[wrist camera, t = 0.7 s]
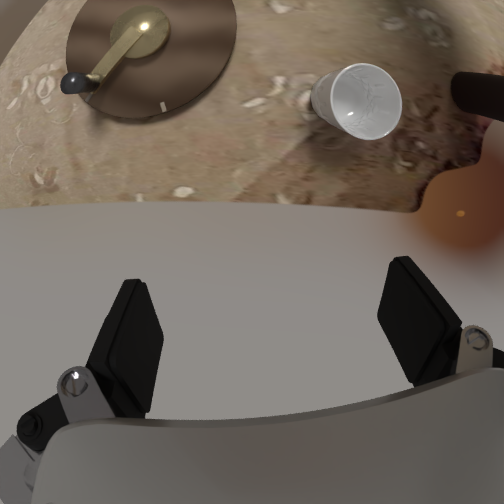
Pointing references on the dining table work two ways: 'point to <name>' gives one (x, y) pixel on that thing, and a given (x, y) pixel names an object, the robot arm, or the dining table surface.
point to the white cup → (358, 101)
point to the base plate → (154, 55)
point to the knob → (123, 47)
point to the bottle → (479, 94)
